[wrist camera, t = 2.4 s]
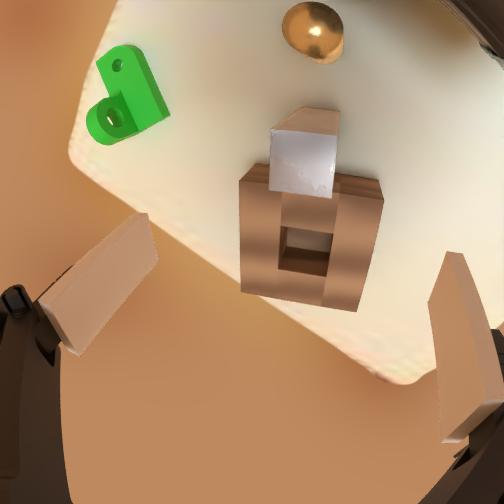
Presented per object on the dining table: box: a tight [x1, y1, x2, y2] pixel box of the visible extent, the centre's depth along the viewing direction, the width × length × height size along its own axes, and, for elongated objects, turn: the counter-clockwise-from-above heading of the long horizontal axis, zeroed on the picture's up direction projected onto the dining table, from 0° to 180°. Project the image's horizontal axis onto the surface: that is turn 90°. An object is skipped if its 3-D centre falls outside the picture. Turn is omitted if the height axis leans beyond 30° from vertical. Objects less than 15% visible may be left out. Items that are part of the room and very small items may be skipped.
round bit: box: [282, 2, 343, 64], centre depth 20 cm, size 4×4×12 cm
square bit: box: [269, 107, 340, 198], centre depth 24 cm, size 4×4×15 cm
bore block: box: [239, 164, 384, 312], centre depth 34 cm, size 14×14×6 cm
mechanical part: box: [86, 46, 170, 145], centre depth 29 cm, size 12×6×8 cm, turn 23°
